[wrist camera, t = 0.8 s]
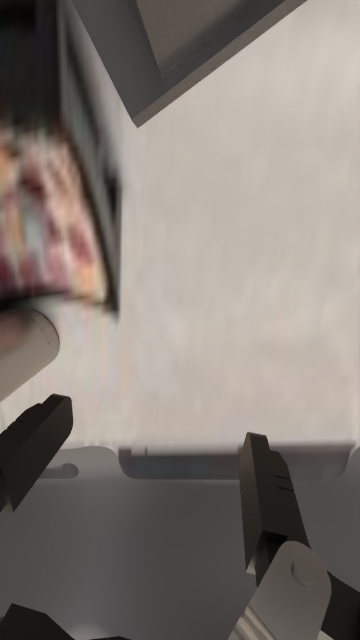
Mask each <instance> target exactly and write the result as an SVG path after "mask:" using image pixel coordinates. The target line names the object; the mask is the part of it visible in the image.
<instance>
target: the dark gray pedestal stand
mask: <svg viewBox="0 0 360 640" xmlns="http://www.w3.org/2000/svg"><path fill="white" fill-rule="evenodd" d="M305 1H307V0H72V2H73V4H74V6H75V8H76V10H77V12H78V14H79V16H80V18H81V20H82V22H83V24H84V26H85V28H86V30H87V32H88V34H89V36H90V38H91V40H92V42H93V44H94V46H95V48H96V50H97V52H98V54H99V56H100V58H101V60H102V62H103V64H104V66H105V68H106V70H107V72H108V74H109V76H110V78H111V80H112V82H113V84H114V86H115V88H116V90H117V92H118V94H119V96H120V98H121V100H122V102H123V104H124V106H125V108H126V110H127V112H128V114H129V116H130V118H131V120H132V121H133V122H134V124H135V125H136V127H137V128H139V127H140V126H141V125H143V124H144V123H145V122H147V121H148V120H149V119H150V118H152V117H153V116H154V115H156V114H157V113H158V112H160V111H161V110H162V109H164V108H165V107H166V106H168V105H169V104H170V103H172V102H173V101H174V100H176V99H177V98H178V97H180V96H181V95H182V94H184V93H185V92H186V91H188V90H189V89H190V88H191V87H193V86H194V85H195V84H197V83H198V82H199V81H201V80H202V79H203V78H205V77H206V76H207V75H209V74H210V73H211V72H213V71H214V70H215V69H217V68H218V67H219V66H221V65H222V64H223V63H225V62H226V61H227V60H229V59H230V58H231V57H232V56H234V55H235V54H236V53H238V52H239V51H240V50H242V49H243V48H244V47H246V46H247V45H248V44H250V43H251V42H252V41H254V40H255V39H256V38H258V37H259V36H260V35H262V34H263V33H264V32H266V31H267V30H268V29H269V28H271V27H272V26H273V25H275V24H276V23H277V22H279V21H280V20H281V19H283V18H284V17H285V16H287V15H288V14H289V13H291V12H292V11H293V10H295V9H296V8H297V7H299V6H300V5H301V4H303V3H304V2H305Z"/></svg>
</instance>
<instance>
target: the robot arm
mask: <svg viewBox="0 0 360 640" xmlns="http://www.w3.org/2000/svg"><path fill="white" fill-rule="evenodd" d="M58 351H59V340H58V336H57V333H56V331H55V329H54V327H53V326H52V324H51V323H50V322H49V321H48V320H47V319H46V318H45V317H44V316H43V315H41V314H39V313H38V312H36V311H34V310H31V309H27V308H15V309H11V310H9V311H6V312H3V313H1V314H0V402H1V401H3V400H4V399H5V398H6V397H8V396H9V395H10V394H11V393H13V392H14V391H15V390H17V389H18V388H19V387H20V386H22V385H23V384H24V383H25V382H27V381H28V380H29V379H31V378H32V377H33V376H35V375H36V374H37V373H38V372H40V371H41V370H42V369H43V368H45V367H46V366H47V365H48V364H50V363H51V362H52V361H53V360H54V359H55V358H56V356H57V354H58ZM72 427H73V413H72V401H71V398H70V397H68V396H63V395H58V394H52V395H50V396H49V397H48V398H47V399H46V400H45V401H44V402H43V403H42V404H40V403H37V404H36V405H34V406H32V407H30V408H29V409H27V410H25V411H24V412H23V413H22V414H21V415H20V416H19V417H18V418H17V419H16V420H15V422H13V423H12V424H10V425H9V426H8V427H7V429H6V430H4V431H3V432H2V433H1V434H0V512H1V511H2V510H5V511H9V512H14V511H15V510H16V508H17V507H18V506H19V504H20V503H21V501H22V500H23V499H24V497H25V496H26V494H27V493H28V492H29V490H30V489H31V488H32V486H33V485H34V483H35V482H36V481H37V479H38V478H39V476H40V475H41V474H42V472H43V471H44V470H45V468H46V467H47V465H48V464H49V463H50V461H51V460H52V458H53V457H54V456H55V454H56V453H57V452H58V450H59V449H60V447H61V446H62V445H63V443H64V442H65V440H66V439H67V438H68V436H69V435H70V433H71V430H72ZM239 479H240V494H241V508H242V522H243V536H244V549H245V563H246V572H247V573H251V574H254V575H256V584H257V590H256V592H255V594H254V596H253V598H252V599H251V601H250V603H249V605H248V607H247V608H246V610H245V612H244V613H243V614H242V616H241V617H240V619H239V621H238V623H237V624H236V626H235V628H234V630H233V632H232V634H231V635H230V637H229V639H228V640H360V592H358V591H356V590H355V589H353V588H351V587H350V586H348V585H347V584H345V583H344V582H342V581H340V580H339V579H337V578H336V577H334V576H333V575H332V574H331V573H330V572H328V571H327V570H326V569H325V567H324V565H323V563H322V562H321V560H320V559H319V558H318V556H317V555H316V554H315V553H314V552H313V551H312V550H311V547H310V545H309V543H308V540H307V536H306V532H305V529H304V525H303V522H302V518H301V514H300V511H299V507H298V503H297V500H296V496H295V493H294V489H293V485H292V481H291V477H290V474H289V470H288V466H287V464H286V462H285V461H284V459H283V458H282V456H281V455H280V453H279V452H276V451H271V450H270V449H269V444H268V440H267V437H266V435H261V434H256V433H251V432H247V434H246V438H245V442H244V445H243V449H242V452H241V456H240V462H239ZM0 640H75V639H73V638H72V637H71V636H70V635H68V633H66V632H65V631H64V630H63V629H62V628H61V627H60V626H59V625H57V624H56V623H55V622H54V621H53V620H52V619H51V618H50V617H49V616H48V615H47V614H45V613H42V612H39V611H35V610H32V609H29V608H26V607H22V606H19V605H16V604H13V603H12V604H11V606H10V607H9V609H8V611H7V613H6V615H5V616H3V617H0ZM92 640H130V639H127V638H124V637H120V636H117V637H109V638H100V639H92Z"/></svg>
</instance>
